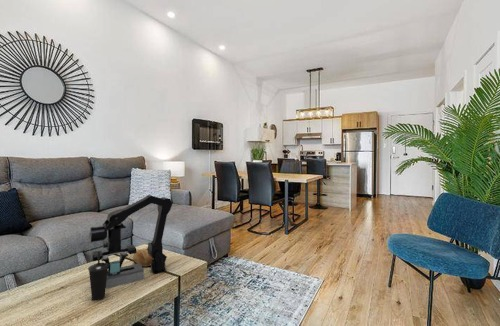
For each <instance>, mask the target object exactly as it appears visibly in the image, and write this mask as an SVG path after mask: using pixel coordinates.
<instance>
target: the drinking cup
mask: <svg viewBox="0 0 500 326" xmlns="http://www.w3.org/2000/svg"><path fill="white" fill-rule="evenodd" d="M108 267H109V264H108V263H105V262H101V260H100V252H98V261H97V263H93V264H91V265H89V267H88V268H87V269H88V272H89V273H88V274H89V283H90V293H91V300H92V301H93V302H94V301H101V300H103V299H104V298H105V297H106V290H107V289H106V281H107V272H108Z"/></svg>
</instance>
